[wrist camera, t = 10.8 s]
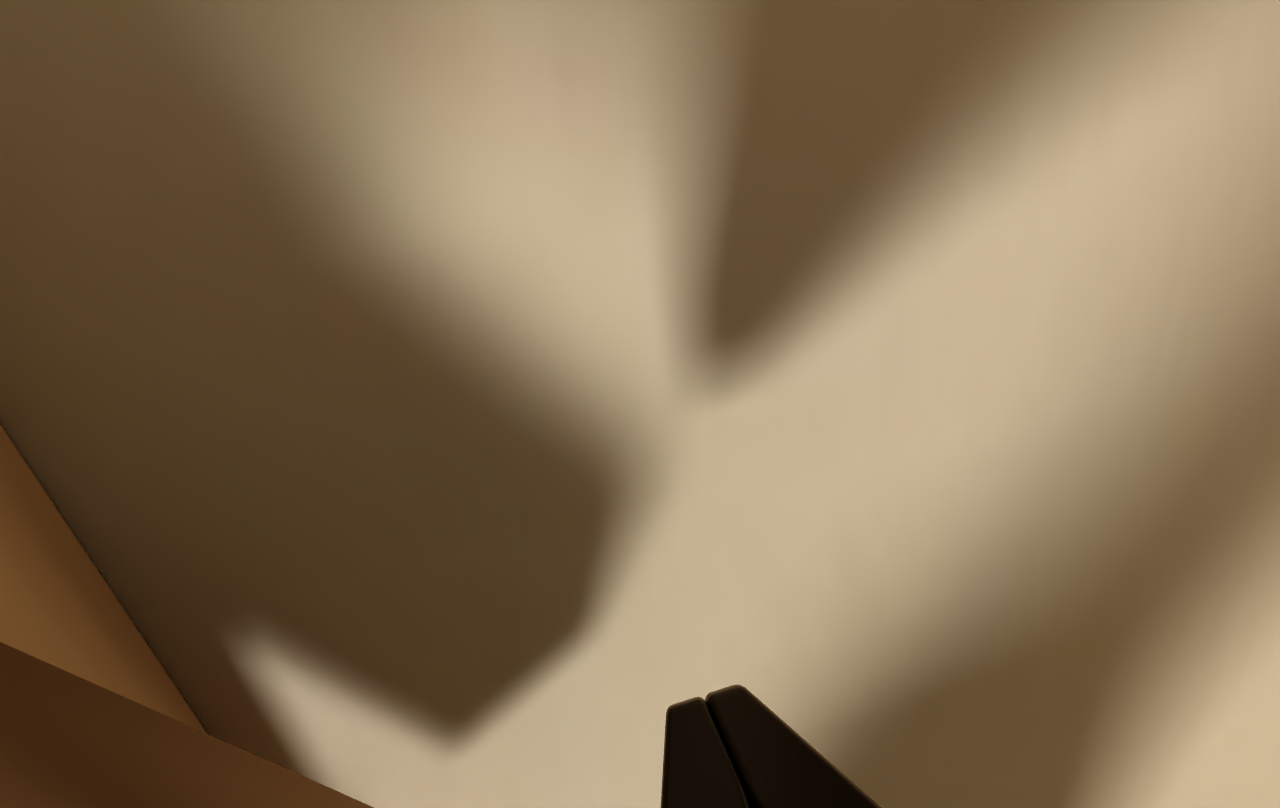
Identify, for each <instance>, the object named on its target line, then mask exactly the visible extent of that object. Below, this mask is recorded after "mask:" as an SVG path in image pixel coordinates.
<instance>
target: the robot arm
mask: <svg viewBox="0 0 1280 808" xmlns="http://www.w3.org/2000/svg"><path fill="white" fill-rule="evenodd" d="M661 808H881V807H880V806H879V805H878V804H876V803H875V802H874V801H873V800H872V799H871V798H870V797H869V796H867V795H866V794H865V793H864V792H863V791H862V790H861V789H859V788H858V787H857V786H856V785H855V784H854V783H853V782H852V781H850V780H849V779H848V778H847V777H846V776H845V775H844V774H842V773H841V772H840V771H839V770H838V769H837V768H836V767H835V766H833V765H832V764H831V763H830V762H829V761H828V760H827V759H825V758H824V757H823V756H822V755H821V754H820V753H819V752H818V751H816V750H815V749H814V748H813V747H812V746H811V745H810V744H808V743H807V742H806V741H805V740H804V739H803V738H802V737H801V736H799V735H798V734H797V733H796V732H795V731H794V730H793V729H792V728H790V727H789V726H788V725H787V724H786V723H785V722H784V721H782V720H781V719H780V718H779V717H778V716H777V715H776V714H775V713H773V712H772V711H771V710H770V709H769V708H768V707H767V706H765V705H764V704H763V703H762V702H761V701H760V700H759V699H758V698H756V697H755V696H754V695H753V694H752V693H751V692H750V691H748V690H747V689H746V688H745V687H743V686H741V685H732V686H729V687H726V688H723V689H720V690H717V691H714V692H711V693H709V694H708V695H707V696H706V698H705V700H704V699H703V698H701V697H695V698H692V699H689V700H686V701H683V702H679V703H676V704H673V705H671V706H670V707H669V708H668V709H667V712H666V726H665V743H664V761H663V778H662V796H661Z"/></svg>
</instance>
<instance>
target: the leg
mask: <svg viewBox="0 0 1280 808" xmlns="http://www.w3.org/2000/svg"><path fill="white" fill-rule="evenodd" d="M0 808H373V807H371V806H369V805H367V804H364V803H362V802H360V801H358V800H355V799H353V798H351V797H349V796H346V795H344V794H342V793H340V792H337V791H335V790H333V789H331V788H328V787H326V786H324V785H322V784H319V783H317V782H315V781H313V780H310V779H308V778H306V777H304V776H301V775H299V774H297V773H295V772H292V771H290V770H288V769H286V768H283V767H281V766H279V765H277V764H274V763H272V762H270V761H268V760H265V759H263V758H261V757H259V756H256V755H254V754H252V753H249V752H247V751H245V750H243V749H240V748H238V747H236V746H234V745H231V744H229V743H227V742H225V741H222V740H220V739H218V738H216V737H213V736H211V735H209V734H207V733H204V732H202V731H200V730H198V729H195V728H193V727H191V726H189V725H186V724H184V723H182V722H180V721H177V720H175V719H173V718H171V717H168V716H166V715H164V714H162V713H159V712H157V711H155V710H153V709H150V708H148V707H146V706H144V705H141V704H139V703H137V702H135V701H132V700H130V699H128V698H126V697H123V696H121V695H119V694H117V693H114V692H112V691H110V690H108V689H105V688H103V687H101V686H99V685H96V684H94V683H92V682H90V681H87V680H85V679H83V678H81V677H78V676H76V675H74V674H72V673H69V672H67V671H65V670H63V669H60V668H58V667H56V666H53V665H51V664H49V663H47V662H44V661H42V660H40V659H38V658H35V657H33V656H31V655H29V654H26V653H24V652H22V651H20V650H17V649H15V648H13V647H11V646H8V645H6V644H4V643H2V642H0Z"/></svg>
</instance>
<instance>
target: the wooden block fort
mask: <svg viewBox="0 0 1280 808" xmlns="http://www.w3.org/2000/svg"><path fill="white" fill-rule="evenodd" d="M0 642H2V643H4V644H6V645H8V646H11V647H13V648H15V649H17V650H20V651H22V652H24V653H26V654H29V655H31V656H33V657H35V658H38V659H40V660H42V661H44V662H47V663H49V664H51V665H53V666H56V667H58V668H60V669H63V670H65V671H67V672H69V673H72V674H74V675H76V676H78V677H81V678H83V679H85V680H87V681H90V682H92V683H94V684H96V685H99V686H101V687H103V688H105V689H108V690H110V691H112V692H114V693H117V694H119V695H121V696H123V697H126V698H128V699H130V700H132V701H135V702H137V703H139V704H141V705H144V706H146V707H148V708H150V709H153V710H155V711H157V712H159V713H162V714H164V715H166V716H168V717H171V718H173V719H175V720H177V721H180V722H182V723H184V724H186V725H189V726H191V727H193V728H195V729H198V730H200V731H202V732H204V733H206V731H205V730H204V728H203V727H202V726H201V724H200V723H199V721H198V720H197V718H196V717H195V715H194V714H193V712H192V711H191V709H190V708H189V706H188V705H187V703H186V702H185V700H184V699H183V697H182V696H181V694H180V693H179V691H178V690H177V688H176V687H175V685H174V684H173V682H172V681H171V679H170V678H169V676H168V675H167V673H166V672H165V670H164V669H163V667H162V666H161V664H160V663H159V661H158V660H157V658H156V657H155V655H154V654H153V652H152V651H151V649H150V648H149V646H148V645H147V643H146V642H145V640H144V639H143V637H142V636H141V634H140V633H139V631H138V630H137V628H136V627H135V625H134V624H133V622H132V621H131V619H130V618H129V616H128V615H127V613H126V612H125V610H124V609H123V607H122V606H121V604H120V603H119V601H118V600H117V598H116V597H115V595H114V594H113V592H112V591H111V589H110V588H109V586H108V585H107V583H106V582H105V580H104V579H103V577H102V576H101V574H100V573H99V571H98V570H97V569H96V567H95V566H94V564H93V563H92V561H91V560H90V558H89V557H88V555H87V554H86V552H85V551H84V549H83V548H82V546H81V545H80V543H79V542H78V540H77V539H76V537H75V536H74V534H73V533H72V531H71V530H70V528H69V527H68V525H67V524H66V522H65V521H64V519H63V518H62V516H61V515H60V513H59V512H58V510H57V509H56V507H55V506H54V504H53V503H52V501H51V500H50V498H49V497H48V495H47V494H46V492H45V491H44V489H43V488H42V486H41V485H40V483H39V482H38V480H37V479H36V477H35V476H34V474H33V473H32V471H31V470H30V468H29V467H28V465H27V464H26V462H25V461H24V459H23V458H22V456H21V455H20V453H19V452H18V450H17V449H16V447H15V446H14V444H13V443H12V441H11V440H10V438H9V437H8V435H7V434H6V432H5V431H4V429H3V428H2V426H1V425H0Z"/></svg>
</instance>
